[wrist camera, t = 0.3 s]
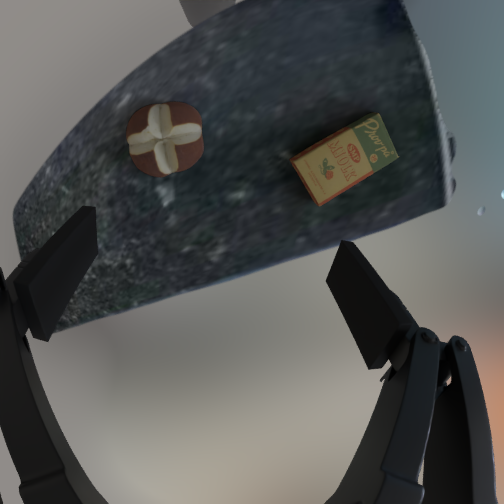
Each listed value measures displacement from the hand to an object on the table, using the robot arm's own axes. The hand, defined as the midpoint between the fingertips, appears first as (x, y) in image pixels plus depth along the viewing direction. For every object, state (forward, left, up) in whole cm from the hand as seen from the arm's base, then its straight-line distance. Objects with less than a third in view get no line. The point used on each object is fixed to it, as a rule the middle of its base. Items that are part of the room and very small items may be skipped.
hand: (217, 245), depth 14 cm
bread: (0, -8, -30) cm, 31 cm away
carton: (-3, +19, -30) cm, 36 cm away
